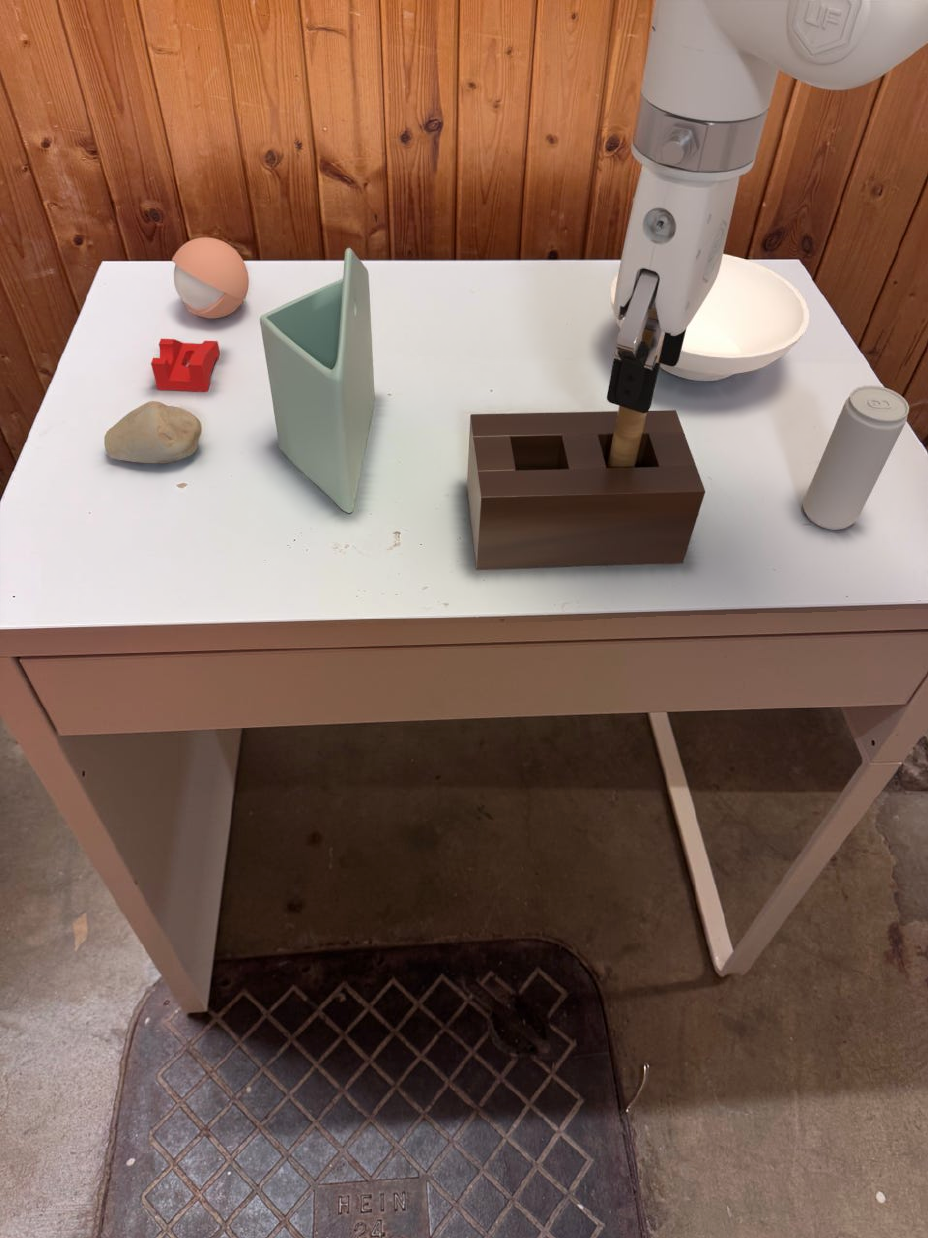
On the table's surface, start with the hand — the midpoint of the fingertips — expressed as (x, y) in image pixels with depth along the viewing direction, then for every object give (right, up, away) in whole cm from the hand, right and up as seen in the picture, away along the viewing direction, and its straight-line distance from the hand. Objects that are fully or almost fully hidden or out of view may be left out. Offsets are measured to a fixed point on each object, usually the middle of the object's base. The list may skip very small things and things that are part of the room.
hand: (643, 380), depth 69 cm
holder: (-4, -10, +11) cm, 15 cm away
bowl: (+11, +9, +28) cm, 31 cm away
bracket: (-41, +7, +23) cm, 47 cm away
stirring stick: (-1, -9, +11) cm, 15 cm away
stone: (-41, -3, +16) cm, 44 cm away
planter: (-26, -2, +16) cm, 31 cm away
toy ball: (-40, +15, +30) cm, 52 cm away
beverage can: (+19, -9, +13) cm, 24 cm away
